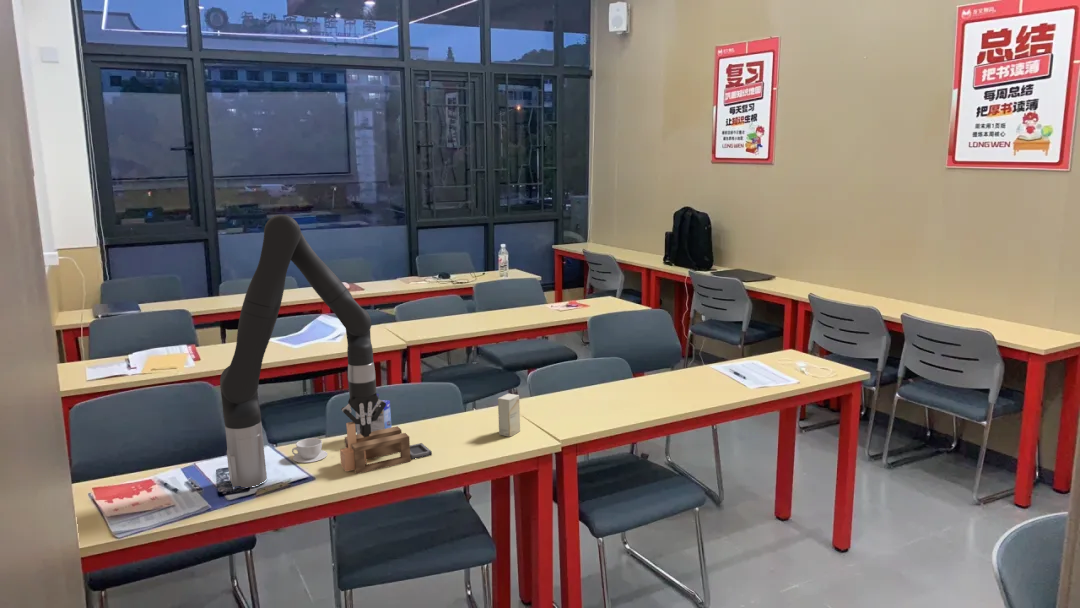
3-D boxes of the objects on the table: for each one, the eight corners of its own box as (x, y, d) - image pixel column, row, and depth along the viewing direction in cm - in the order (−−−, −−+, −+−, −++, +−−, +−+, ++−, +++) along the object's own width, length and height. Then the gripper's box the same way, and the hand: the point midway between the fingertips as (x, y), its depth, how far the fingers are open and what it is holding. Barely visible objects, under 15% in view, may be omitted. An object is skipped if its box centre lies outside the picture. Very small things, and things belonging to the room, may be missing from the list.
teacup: (322, 448, 235) (321, 434, 234) (331, 459, 227) (330, 444, 226) (289, 455, 231) (288, 440, 230) (296, 466, 222) (295, 451, 221)
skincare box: (510, 437, 240) (508, 400, 238) (498, 435, 243) (497, 398, 240) (520, 431, 246) (519, 394, 243) (509, 428, 248) (508, 392, 246)
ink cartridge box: (393, 436, 244) (390, 392, 241) (386, 443, 238) (383, 398, 235) (364, 434, 246) (361, 391, 243) (356, 441, 240) (353, 397, 237)
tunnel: (356, 473, 216) (354, 447, 214) (346, 461, 224) (344, 437, 223) (410, 461, 223) (409, 436, 222) (398, 450, 232) (397, 426, 230)
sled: (346, 471, 216) (342, 427, 214) (341, 465, 221) (337, 422, 218) (366, 466, 219) (363, 423, 217) (361, 461, 224) (358, 418, 221)
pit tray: (412, 459, 225) (412, 455, 224) (403, 450, 232) (402, 447, 231) (431, 455, 228) (431, 451, 227) (421, 446, 234) (421, 442, 234)
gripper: (342, 385, 211) (346, 444, 214) (388, 377, 217) (392, 435, 221) (335, 378, 217) (339, 436, 220) (380, 371, 224) (383, 427, 227)
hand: (365, 436), depth 221 cm, fingers closed
